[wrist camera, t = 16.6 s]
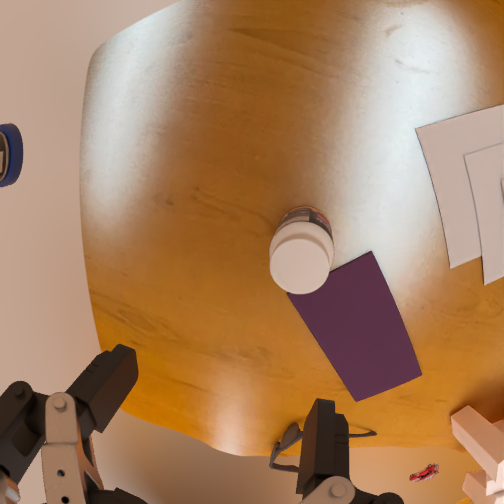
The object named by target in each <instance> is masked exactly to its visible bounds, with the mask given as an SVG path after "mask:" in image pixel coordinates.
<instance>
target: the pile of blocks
mask: <svg viewBox="0 0 504 504" xmlns="http://www.w3.org/2000/svg"><path fill="white" fill-rule="evenodd" d="M451 423H452V431H453V435H454V437H455V438H456V439H457V440H458V441H459V442H460V443H461V444H462V445H463V447H464V448H465V449H466V450H467V451H468V452H469V453H470V454H471V455H472V456H473V458H474V459H475V460H476V461H477V462H478V463H479V464H480V465H481V466H482V468H483V469H484V470H480V471H475V472H468V473H467V474H466V477H465V480H464V483H463V486H462V490H463V491H464V492H465V493H466V494H467V495H468V496H469V498H470V499H471V500H472V501H473V502H474V503H475V504H504V419H503V420H500V421H498V422H495V423H493V424H491V423H490V422H489V421H488V420H486V419H485V418H484V417H483V416H481V415H480V414H479V413H478V412H477V411H475V410H474V409H473V408H472V407H470V406H469V405H467V406H466V407H464V408H463V409H461V410H460V411H458V412H456V413H455V414H453V415H452V416H451Z"/></svg>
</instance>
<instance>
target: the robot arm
mask: <svg viewBox="0 0 504 504" xmlns="http://www.w3.org/2000/svg"><path fill="white" fill-rule="evenodd" d="M10 160H11V150H10V143H9V139H8V137H7V135H6V134H5V133H4V132H3V131H0V181H2V180H4V179H5V178H6V176H7V174H8V171H9V167H10ZM137 379H138V365H137V358H136V352H135V350H134V349H132V348H130V347H127V346H125V345H122V344H118V345H117V346H116V347H115V348H114V349H113V350H112V351H111V352H110V351H107V350H106V351H104V352H103V353H101V354H99V355H97V356H96V357H95V358H94V360H93V361H92V362H91V364H89V365H88V366H87V368H86V370H84V371H83V372H82V373H81V374H80V376H79V377H78V378H77V379H76V380H75V381H74V383H73V384H72V385H71V386H70V387H69V388H68V389H67V391H66V392H57V393H54V394H52V395H50V396H48V395H44V394H41V393H37V392H34V391H33V390H32V388H31V386H30V385H29V384H28V383H27V382H24V381H17V382H14V383H12V384H11V385H10V386H9V387H8V388H7V389H6V391H5V392H4V393H3V394H2V395H1V396H0V504H17V502H19V501H20V495H19V489H18V486H17V485H18V483H19V482H20V480H21V479H22V477H23V475H24V474H25V472H26V470H27V469H28V467H29V466H30V464H31V462H32V461H33V459H34V458H35V456H36V455H37V453H38V451H39V450H40V448H41V457H42V469H43V479H44V487H45V494H46V500H47V503H44V504H147V503H146V502H145V501H144V500H142V499H140V498H139V497H137V496H134V495H132V494H130V493H128V492H125V491H123V490H121V489H119V488H116V489H115V490H114V491H111V490H104V488H103V484H102V480H101V478H100V476H99V473H98V471H97V466H96V461H95V455H94V450H93V444H92V438H91V433H92V432H93V430H96V431H98V432H100V433H102V432H103V431H104V429H105V428H106V426H107V425H108V423H109V422H110V420H111V419H112V417H113V416H114V414H115V413H116V412H117V410H118V409H119V407H120V406H121V404H122V403H123V401H124V400H125V398H126V397H127V395H128V394H129V392H130V391H131V389H132V388H133V386H134V385H135V383H136V381H137ZM348 435H349V428H348V423H347V421H346V419H345V417H344V415H343V414H337V413H335V402H334V401H332V400H325V399H318V398H317V399H316V400H315V402H314V404H313V406H312V408H311V410H310V412H309V414H308V416H307V418H306V421H305V424H304V429H303V438H302V447H301V456H300V465H299V473H298V481H297V488H296V494H303V498H302V501H301V502H300V503H299V504H404V502H403V500H402V498H401V497H400V496H399V495H397V494H395V493H390V492H388V493H383V494H381V495H379V496H377V495H373V494H370V493H367V492H363V491H361V490H359V489H357V488H356V487H355V486H354V485H353V484H352V482H351V480H350V477H349V445H348V444H349V437H348ZM45 441H46V443H45V444H44V442H45Z"/></svg>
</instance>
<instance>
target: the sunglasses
mask: <svg viewBox="0 0 504 504" xmlns="http://www.w3.org/2000/svg"><path fill="white" fill-rule="evenodd" d="M375 435H377V434H376V433H375V432H373V431H372V432H369V433H365V434H349V435H348V437H349V438H354V437H367V436H375ZM302 438H303V431H300V429H299V425H298V424H297V423H293V424H292V425H290V426H289V427H288V429H287V430H286V431H285V433H284V435H283V437H282V439H281V442H278V441H277V442H276V444H275V446H274V448H273V450H272V453H271V458H270V464H269V466H270V468H271V469H276V470H281V471H289V472H297V473H299V467H296V466H294V465H289V466H288V465H287V466H285V465H278V464H275V463H273V462H274V460H275V459H276V457H277V456H278V454H279V453H280V452H281V451H284V450H285V449H287V448H288V447H290V446H291V445H293V444H294V443H296V442H297V441H298V440H300V439H302Z"/></svg>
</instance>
